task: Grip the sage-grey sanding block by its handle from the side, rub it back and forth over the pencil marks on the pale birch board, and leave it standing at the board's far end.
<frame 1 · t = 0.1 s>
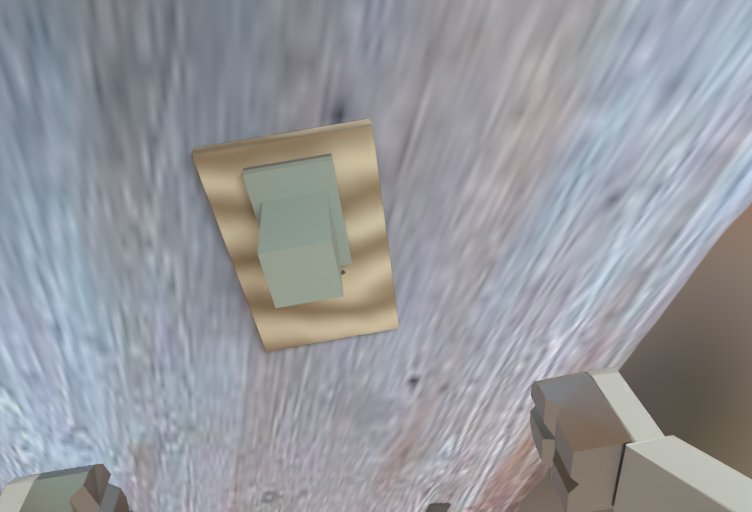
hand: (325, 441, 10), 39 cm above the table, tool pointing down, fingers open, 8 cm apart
birch board: (311, 246, 55), on the table
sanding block: (301, 215, 51), point 2 cm above the table, touching birch board
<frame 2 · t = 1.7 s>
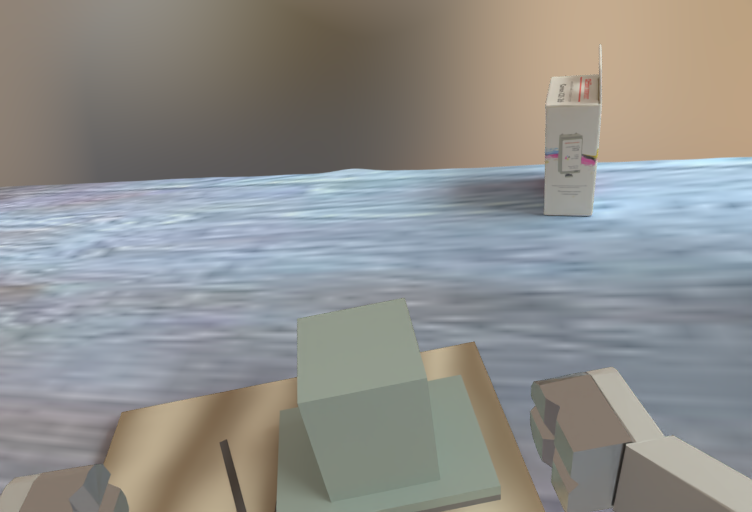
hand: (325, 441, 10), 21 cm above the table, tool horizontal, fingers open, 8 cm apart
birch board: (305, 488, 32), on the table
ink cartridge box: (567, 198, 56), on the table
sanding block: (381, 457, 31), point 2 cm above the table, touching birch board
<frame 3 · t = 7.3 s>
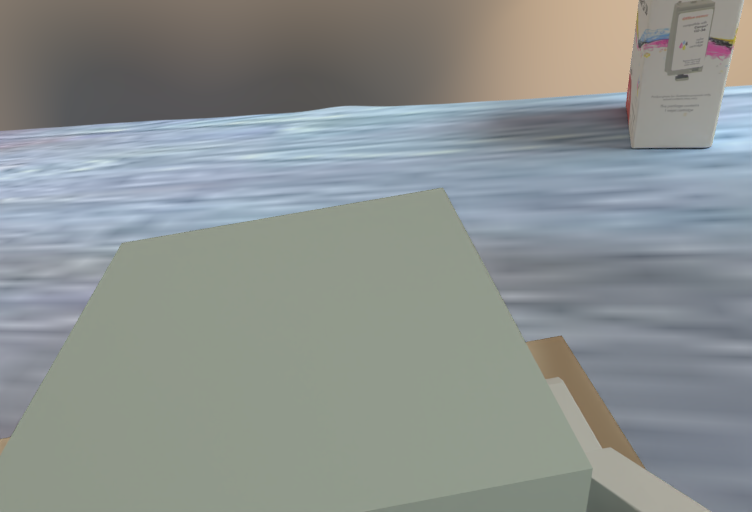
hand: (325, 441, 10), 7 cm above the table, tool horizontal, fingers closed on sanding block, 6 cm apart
ink cartridge box: (662, 129, 37), on the table
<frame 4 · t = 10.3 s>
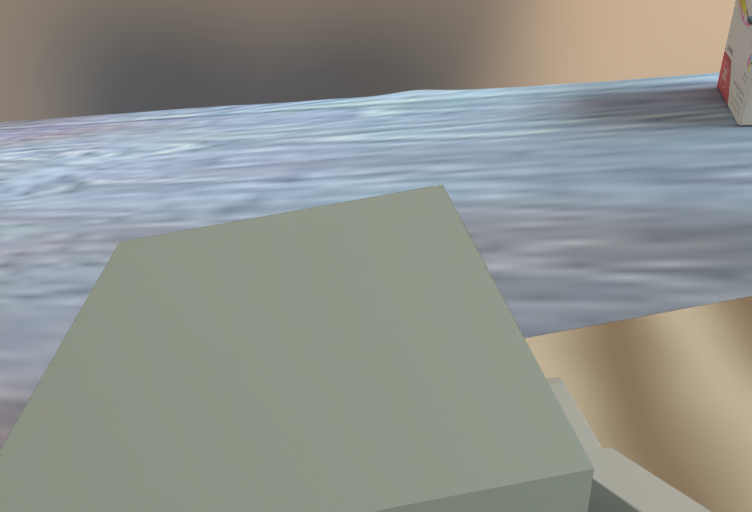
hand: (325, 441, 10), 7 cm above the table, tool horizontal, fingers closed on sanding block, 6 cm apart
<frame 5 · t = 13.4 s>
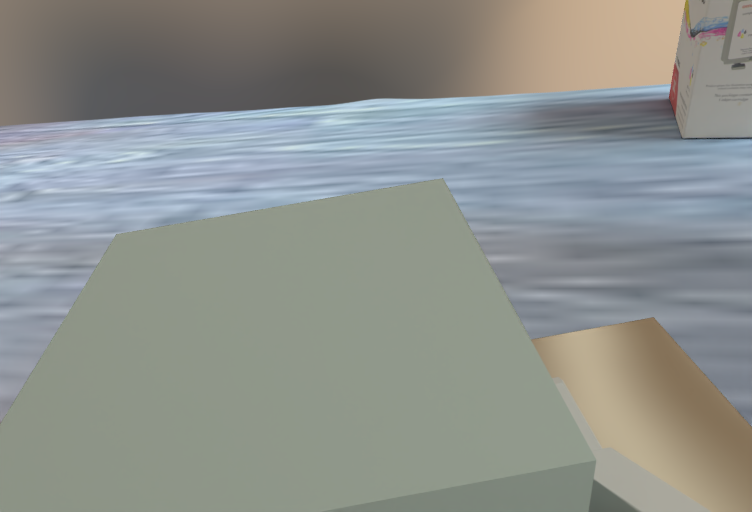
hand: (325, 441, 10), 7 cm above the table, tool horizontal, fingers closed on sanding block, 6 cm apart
ink cartridge box: (709, 119, 37), on the table
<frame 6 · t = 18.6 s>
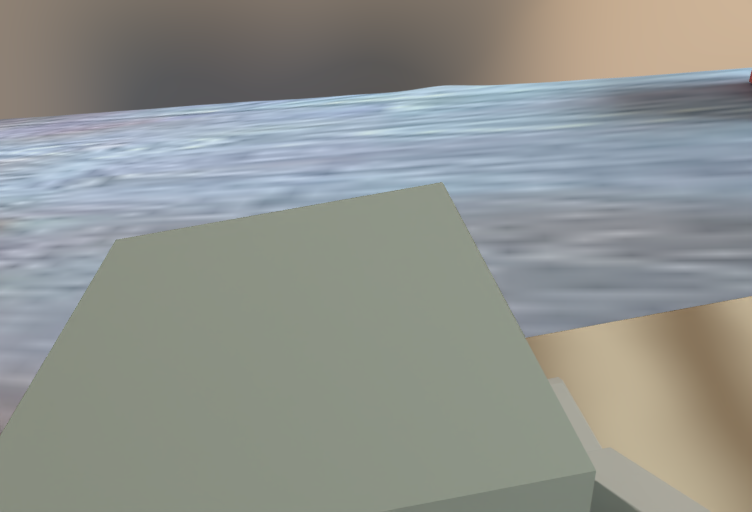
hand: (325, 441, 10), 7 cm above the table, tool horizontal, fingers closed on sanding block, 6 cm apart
when the fingers open (7 cm above the table, at t = 18.6 s): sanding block stays where it is, resting on birch board.
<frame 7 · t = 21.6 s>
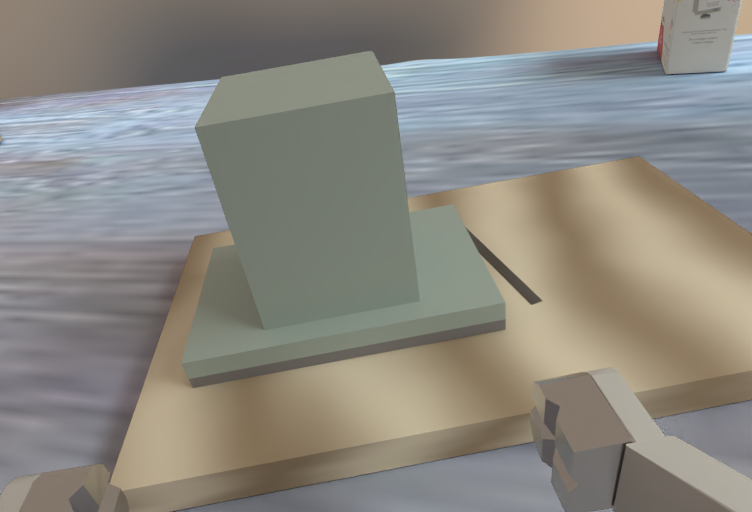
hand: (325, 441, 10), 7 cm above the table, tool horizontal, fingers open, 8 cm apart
birch board: (454, 300, 24), on the table
ink cartridge box: (687, 63, 48), on the table
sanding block: (343, 295, 23), point 2 cm above the table, touching birch board
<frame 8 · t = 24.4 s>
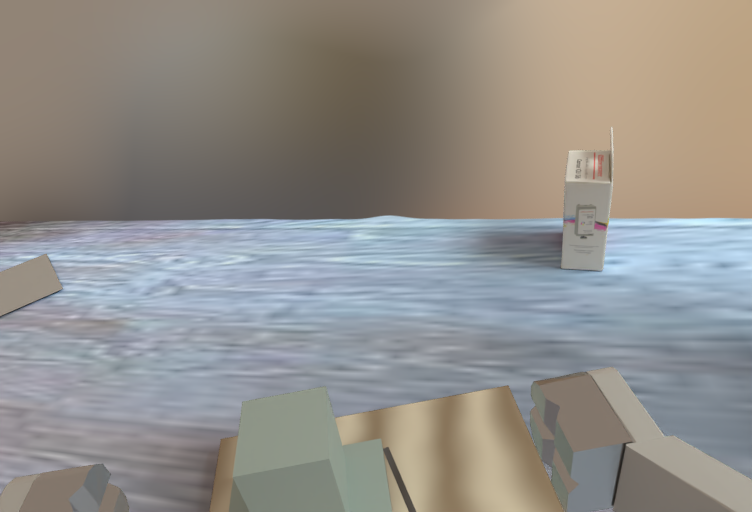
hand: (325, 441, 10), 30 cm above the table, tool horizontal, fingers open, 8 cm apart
birch board: (378, 505, 41), on the table
ink cartridge box: (581, 252, 65), on the table
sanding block: (311, 507, 40), point 2 cm above the table, touching birch board
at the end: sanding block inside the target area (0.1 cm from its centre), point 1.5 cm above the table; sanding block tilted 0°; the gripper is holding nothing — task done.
